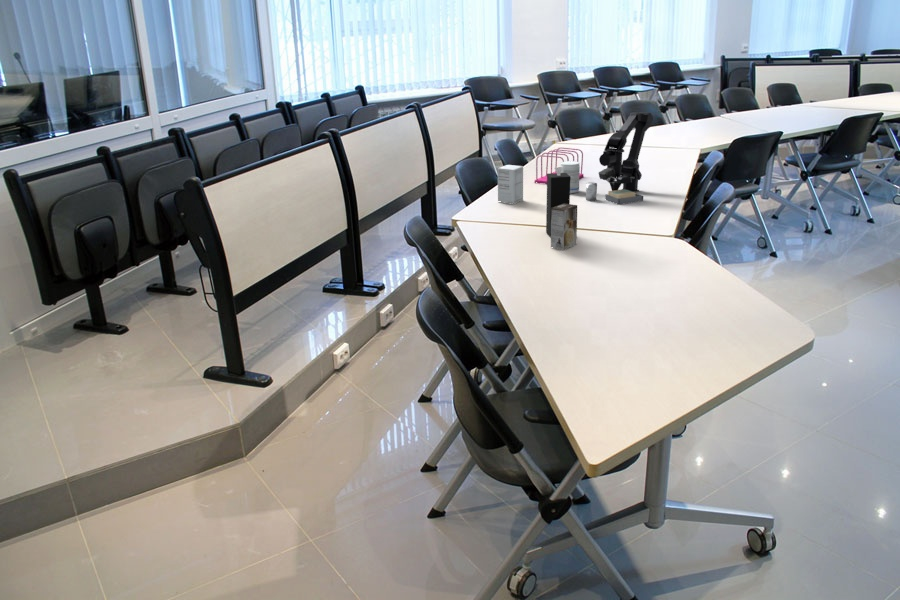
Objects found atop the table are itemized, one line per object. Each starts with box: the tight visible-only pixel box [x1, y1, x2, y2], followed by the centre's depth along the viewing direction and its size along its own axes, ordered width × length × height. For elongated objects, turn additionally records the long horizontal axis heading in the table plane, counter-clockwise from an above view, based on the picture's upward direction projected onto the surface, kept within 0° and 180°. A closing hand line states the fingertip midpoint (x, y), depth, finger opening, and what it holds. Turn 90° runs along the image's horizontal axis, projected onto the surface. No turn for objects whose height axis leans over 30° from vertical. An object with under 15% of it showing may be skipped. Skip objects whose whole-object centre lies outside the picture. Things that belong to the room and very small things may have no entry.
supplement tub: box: [560, 160, 581, 194], centre depth 365 cm, size 10×10×15 cm
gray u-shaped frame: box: [604, 192, 644, 205], centre depth 347 cm, size 14×11×2 cm
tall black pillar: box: [545, 166, 571, 238], centre depth 293 cm, size 8×8×28 cm
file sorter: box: [534, 147, 584, 185], centre depth 391 cm, size 17×25×16 cm
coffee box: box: [550, 203, 578, 251], centre depth 280 cm, size 9×6×16 cm
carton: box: [607, 188, 636, 199], centre depth 346 cm, size 9×9×5 cm
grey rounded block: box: [585, 181, 598, 202], centre depth 349 cm, size 5×5×8 cm
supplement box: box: [497, 164, 524, 205], centre depth 350 cm, size 10×9×17 cm
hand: (614, 194), depth 354 cm, fingers closed
